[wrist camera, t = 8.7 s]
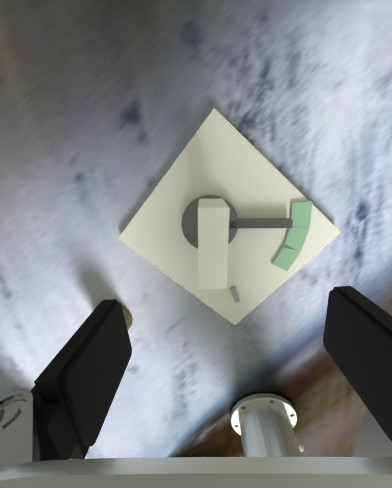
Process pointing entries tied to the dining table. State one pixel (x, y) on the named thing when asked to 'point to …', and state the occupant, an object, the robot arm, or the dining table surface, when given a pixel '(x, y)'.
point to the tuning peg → (217, 235)
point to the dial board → (246, 206)
